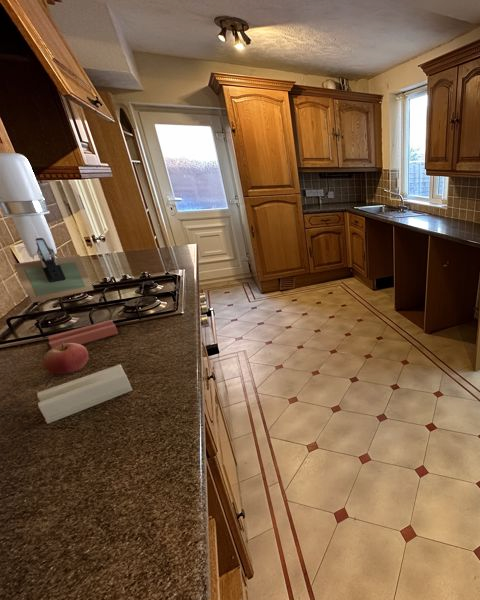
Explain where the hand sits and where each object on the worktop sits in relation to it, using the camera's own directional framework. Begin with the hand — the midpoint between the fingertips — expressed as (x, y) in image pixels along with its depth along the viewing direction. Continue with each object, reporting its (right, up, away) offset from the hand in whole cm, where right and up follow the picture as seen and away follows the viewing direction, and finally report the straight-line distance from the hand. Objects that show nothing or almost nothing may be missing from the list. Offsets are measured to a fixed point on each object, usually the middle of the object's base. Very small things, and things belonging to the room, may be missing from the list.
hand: (57, 279), depth 85 cm
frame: (0, -4, +2) cm, 5 cm away
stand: (-1, -18, +10) cm, 21 cm away
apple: (+7, -24, -3) cm, 25 cm away
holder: (+21, -28, -13) cm, 37 cm away
